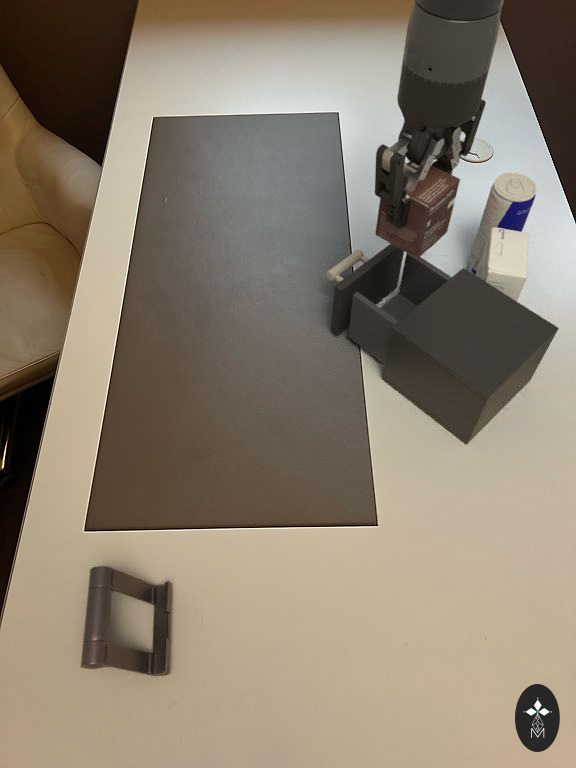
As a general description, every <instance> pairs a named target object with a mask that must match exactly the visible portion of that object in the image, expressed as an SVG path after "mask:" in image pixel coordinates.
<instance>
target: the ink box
mask: <svg viewBox="0 0 576 768" xmlns="http://www.w3.org/2000/svg"><path fill="white" fill-rule="evenodd" d="M529 238H530V233H529V232H525V231H522V232H519V231H514V230H508V229H503V228H497V227H495V228H491V231H490V234H489V237H488V240H487V243H486V246H485V249H484V252H483V255H482V258H481V260H480V263H479V266H478V269H477V272H476V276H477V277H479V278H480V279H482V280H484V281H485V282H487V283H488V284H490V285H491V286H493V287H495V288H496V289H498V290H499V291H501V292H503V293H504V294H506V295H507V296H509V297H510V298H512V299H514V300H515V301H517V302H518V299H519V297H520V295H521V292H522V290H523V288H524V285H525V283H526V281H527V278H528V264H529V263H528V262H529V243H530V242H529Z"/></svg>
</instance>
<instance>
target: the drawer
mask: <svg viewBox="0 0 576 768" xmlns="http://www.w3.org/2000/svg"><path fill="white" fill-rule="evenodd" d="M404 255H405V259H404ZM403 259H404V263H403ZM359 262H361V263H362V264H361V265H360V266H358V267H357V268H356V269H354V270H353V271H352V272H351V273H349V274H348V275H346V276H345V277H342V275H343V274H344V273H345V272H347V271H348V270H350V269H351V268H352V267H353V266H355V265H356V264H357V263H359ZM403 264H404V265H403ZM402 265H403V269H402ZM401 269H402V274H401ZM400 274H401V279H400ZM325 275H326V278H327V280H329V281H331V282H333V281H336V282H337V283H336V284H335V285H334V286H333V299H332V311H331V312H332V314H331V315H332V316H331V326H330V329H331V330H330V331H331V332H332V333H333V334H335V335H336V336H339V335H340V334H341V333H342V332H344V331H345V330H347V328H348V334H347V336H348V338H349V339H351V340H352V341H353V342H354V343H356V344H357V345H358V346H359V347H361V348H362V349H363V350H365V351H366V352H367V353H368V354H370V355H371V356H373V357H374V358H376V359H377V360H378V361H379V362H381V364H383V365H385V360H386V355H387V350H388V345H389V340H390V335H391V329H392V327H393V326H394V325H395V324H396V323H397V322H399V321H400V320H401V319H402V318H404V317H405V316H406V315H407V314H408V313H410V312H411V311H412V310H413V309H414V308H416V307H417V306H418V305H419V304H420V303H422V302H423V301H424V300H425V299H426V298H428V297H429V296H430V295H431V294H432V293H434V292H435V291H436V290H437V289H438V288H440V287H441V286H442V285H443V284H444V283H446V282H447V281H448V280H449V279H450V278H452V277H453V276H451V275H450V274H448V273H446V272H445V271H443V270H441V268H439V267H437V266H436V265H434V264H433V263H431V262H429V261H428V260H426V259H425V258H423V257H422V256H420V257H419V258H415V257H413V256H412V255H410V254H408V253H406V254H405V251H403V250H401V249H400V248H398V247H396V246H394V245H392V244H391V243H389V244H388V245H386V246H385V247H384V248H383V249H382V250H380V251H379V252H377V253H376V254H375V255H373V256H372V257H371V258H370V259H369V258H367V257H366V256H365V254H364V252H363V250H361V249H358V248H357V249H356V250H355V251H354V252H352V253H351V254H349V255H347V257H345V258H344V259H342V260H341V261H340V262H338V263H337V264H336V265H334V266H333V267H331V268H330V269H329V270H327V271H326V273H325ZM399 279H400V284H399ZM398 284H399V290H398V293H397V294H396V295H393V297H392V298H390V299H389V300H388V301H386V303H384V304H382V306H378V305H377V304H379V303H380V302H381V301H382V300H384V299H385V298H386V297H387V296H389V295H390V294H391V293H392V292H394V291H395V290H396V289H397V288H398Z"/></svg>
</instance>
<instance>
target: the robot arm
mask: <svg viewBox="0 0 576 768" xmlns="http://www.w3.org/2000/svg"><path fill="white" fill-rule="evenodd" d="M504 1H505V0H413V4H412V7H411V11H410V15H409V19H408V23H407V28H406V35H405V40H404V41H405V43H404V49H403V55H402V63H401V64H402V65H401V70H400V77H399V83H398V90H397V96H396V97H397V99H396V100H397V105H398V108H399V110H400V112H401V114H402V117H403V120H404V121H403V124H402V127H401V130H400V132H399V134H398V138H397V141H396V142H395V143H394V144H393V145H391V146H390V147H389V146H388V145H386V144H383V143H382V144H380V145H379V147H377V150H376V152H375V172H374V173H375V177H374V179H375V180H374V195H375V196H376V197H378V198H379V199H380V198H381V199H383V200H384V201H386V202H388V206H387V212H386V220H387V221H388V222H389V223H391V224H392V225H394V226H395V227H397V228H399V229H402V228H403V227H404V226H406V224H407V219H408V214H409V209H410V203H411V197H412V194H413V192H414V190H415V188H416V186H417V184H418V182H422V181H424V179H425V177H426V175H427V173H428V171H429V169H430V166H431V165H433V166H435V167H437V168H439V169H441V170H443V171H445V172H447V173H449V174H451V175H453V171H454V170H455V169H456V168H457V167H458V166H459V163H460V161H461V160H460V157H461V156H463V157H467V156H469V154H470V152H471V150H472V147H473V144H474V141H475V138H476V135H477V131H478V129H479V126H480V122H481V119H482V116H483V113H484V110H485V107H486V103H487V102H486V100H484V99H483V95H484V91H485V87H486V82H487V79H488V75H489V71H490V67H491V63H492V60H493V56H494V52H495V48H496V44H497V41H498V36H499V32H500V31H499V30H500V23H501V14H502V9H503V5H504ZM462 133H463V134H464V135H465V136H464V139H463V140H462V139H461V136H462ZM406 159H407V160H408V162H409V161H411V162H413V163H414V164H416V165H418V166H419V168H418V170H417V171H416V170H415V169H413V168H411V167H410V166H408V165H407V163H408V162H406ZM403 175H404V176H405V177H407V178H408V183H407V185H406V187H405V188H403V187H402V184H403ZM386 185H387V186H386Z"/></svg>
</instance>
